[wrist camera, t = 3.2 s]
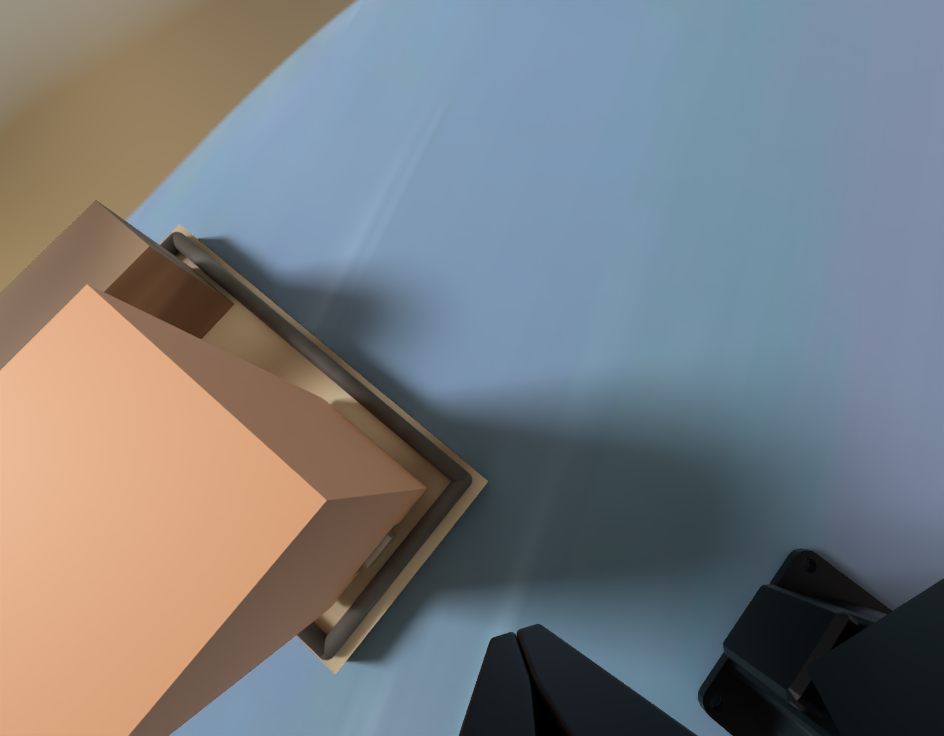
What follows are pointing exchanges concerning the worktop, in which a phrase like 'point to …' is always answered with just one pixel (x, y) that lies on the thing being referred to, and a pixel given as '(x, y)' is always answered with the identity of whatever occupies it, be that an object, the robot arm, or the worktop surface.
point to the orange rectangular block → (165, 520)
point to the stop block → (106, 281)
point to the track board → (326, 375)
